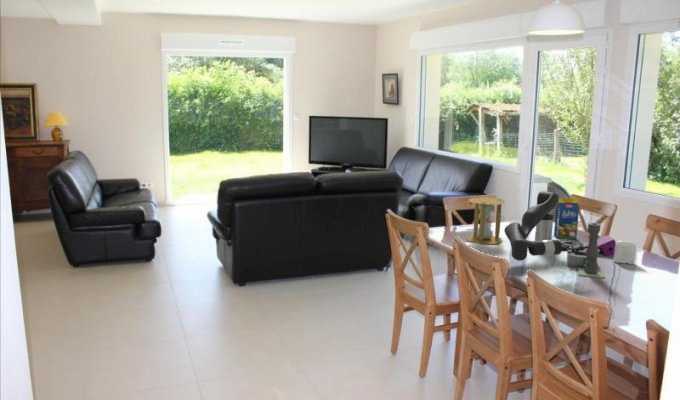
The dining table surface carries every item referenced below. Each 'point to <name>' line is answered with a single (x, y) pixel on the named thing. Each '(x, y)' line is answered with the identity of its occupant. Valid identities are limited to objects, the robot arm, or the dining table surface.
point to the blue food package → (566, 219)
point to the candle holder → (592, 249)
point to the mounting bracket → (604, 245)
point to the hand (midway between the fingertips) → (578, 245)
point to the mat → (599, 274)
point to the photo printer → (625, 252)
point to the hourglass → (484, 232)
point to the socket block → (577, 259)
